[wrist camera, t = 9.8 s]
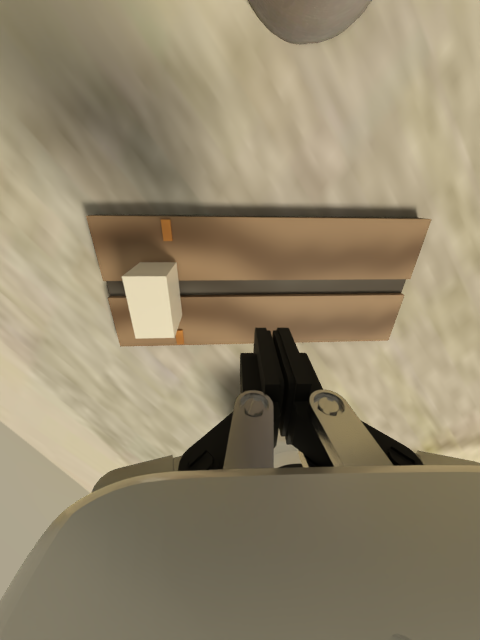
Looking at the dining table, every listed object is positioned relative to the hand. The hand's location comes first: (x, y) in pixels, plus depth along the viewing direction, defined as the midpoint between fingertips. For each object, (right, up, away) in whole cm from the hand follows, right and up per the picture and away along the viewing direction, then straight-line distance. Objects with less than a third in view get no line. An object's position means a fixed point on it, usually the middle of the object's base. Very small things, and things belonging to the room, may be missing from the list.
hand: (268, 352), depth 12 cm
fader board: (0, +5, +11) cm, 12 cm away
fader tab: (-8, +5, +9) cm, 13 cm away
